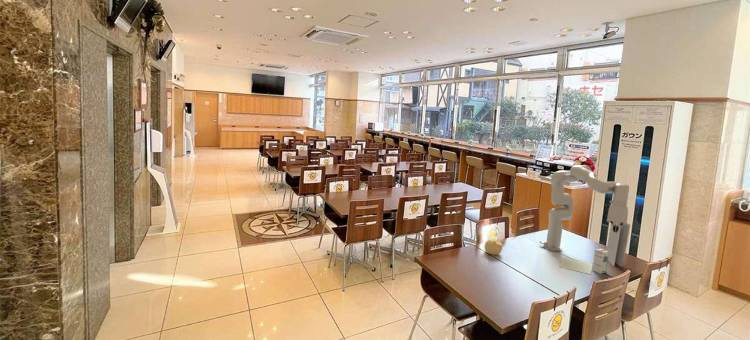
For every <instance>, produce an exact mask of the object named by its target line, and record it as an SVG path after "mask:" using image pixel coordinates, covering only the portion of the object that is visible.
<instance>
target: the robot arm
mask: <svg viewBox="0 0 750 340" xmlns="http://www.w3.org/2000/svg"><path fill="white" fill-rule="evenodd" d="M579 181H581V182H583V183H585V184H586V185H587V186H588V187H589V188H590V189H591V190H593V191H595V192H597V193H600V194H603V195H604V194H613V195H612V200H609V203H610V205H609V208H608V211H607V212H608V213H607V219H606V222H607V223H610V225H611V224H612V225H613V231H614V232H616V233H617V231H618V230H619V226H621V225H627V223H628V222H627V221H628V216H629V215H628V214H629V207H628V206H627V205H628V199H629V192H630V186H629V185H628V184H627V183H626V184H625V183H619V182H616V181H602V180H600V179H598V178H597V173H596V172H594V171H593V170H592V168H591V167H590V166H589V165H586V164H583V165H581V164H578V165H577V164H576V165H573V166H572V167H570V170H558V171H555V172H553V174H552V175H551V177H550V185H551V197H550V198H551V199H550V200H551V204H552V205H553V206H555V207H554V208H551V209H549V210H548V226H547V227H548V228H547V234H546V235H547V236H546V240H539V243H540V244H542V245H543V248H544V249H546V250H548V251H552V252H562V250H563V248H562V247H561V241H562V236H563V235H562V234H563V229H564V227H563V222H562V221H568V220H569V221H570V220H571V219H572V218H573V214H574V199H573V195H571V194H570V193H567V192H565V186H564V184H563V183H575V182H579ZM615 222H618V225H617V226H616V224H615ZM615 229H616V231H615Z"/></svg>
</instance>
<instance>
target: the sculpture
mask: <svg viewBox="0 0 750 340" xmlns="http://www.w3.org/2000/svg"><path fill="white" fill-rule="evenodd" d="M484 250H485V252H486V253H487V254H489V255H492V256H498V255H499V254H501V253H502V250H503V244H502V242H501V241H500V240H499V239H496V238H490V239H488V240H486V241H485V243H484Z"/></svg>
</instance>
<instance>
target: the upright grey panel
mask: <svg viewBox="0 0 750 340" xmlns="http://www.w3.org/2000/svg"><path fill="white" fill-rule="evenodd" d="M615 224H616V226H617V225H618V222H615ZM630 229H631V224H630V223H628V222H627V225H621V226H619V230H618V231H617V233H616V232H614V231H613V225H612V224H611V223H610V227H609V233H608V239H607V245H606V250H607V251H609V255H608V263H610V264H611V265H612V266H613V267H615V265H617V266H619V267H621V268H624V263H625V257H626V250H627V245H628V239H629V235H630ZM615 231H616V229H615ZM615 263H616V264H615Z"/></svg>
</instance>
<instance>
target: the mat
mask: <svg viewBox="0 0 750 340" xmlns="http://www.w3.org/2000/svg"><path fill="white" fill-rule="evenodd" d="M559 268H561V269H562V268H563V269H566V270H570V271H574V272H578V273H583V274H585V275H592V271H593V270H592V269H593V263H589V262H586V261H585V262H584V261H580V260H576V259H571V258H568V257H562V260H561V262H560V264H559Z"/></svg>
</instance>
